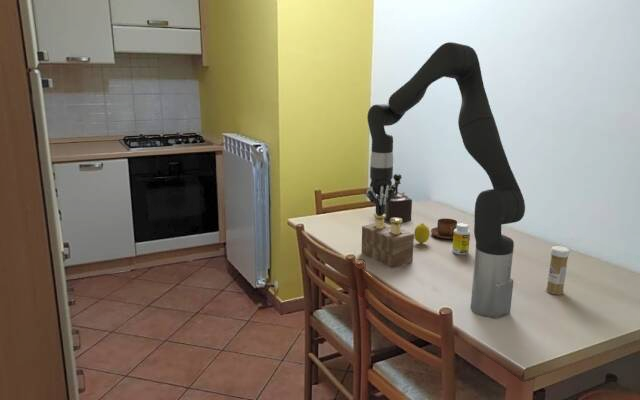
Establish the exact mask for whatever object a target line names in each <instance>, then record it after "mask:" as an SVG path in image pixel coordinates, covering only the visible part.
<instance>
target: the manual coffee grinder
mask: <svg viewBox="0 0 640 400" xmlns="http://www.w3.org/2000/svg"><path fill="white" fill-rule="evenodd" d="M392 179H393V180H394V183H393V184H392V185H393V186H395V187H397V189H396V191H395V193H394V194H393V196H392V198H391V200H390V201H389V202H386V204H385V212H384V214H386V218H384V221H387V222H388V223H391V222H390V218H401V219H402V223H403V222H410V221H412V208H413V206H412V205H413V201H412V199H411V198H409V197H408V196H407V195H406V194H405V192H402V193H400V192H399V190H398V188H399V185H401V179H402V175H401V174H400V173H395V174H393V178H392ZM387 198H388V197H387ZM382 199H383V198H382Z"/></svg>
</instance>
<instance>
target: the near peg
mask: <svg viewBox="0 0 640 400" xmlns="http://www.w3.org/2000/svg"><path fill="white" fill-rule="evenodd" d="M389 223H391V224H390V225H391V234H393V235H399V234H400V229H401V223H403V222H402V219H401V218H390V222H389Z"/></svg>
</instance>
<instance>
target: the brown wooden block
mask: <svg viewBox="0 0 640 400" xmlns="http://www.w3.org/2000/svg"><path fill="white" fill-rule="evenodd" d="M414 240H415V237H414V232H410V231H408V230H405V229H402V228H400V234H399V235H393V234H391V224H388V223H386V222H384V228H382V229H377V228H375V223H371V224H367V225H362V227H361V255H364V256H366V257H368V258H370V259H372V260H375V261H377V262H379V263H381V264H383V265H385V266H387V267H390V268H392V269H394V268H398V267H401V266H404V265H408V264H411V263H413V261H414V242H415V241H414Z"/></svg>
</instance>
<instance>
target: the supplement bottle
mask: <svg viewBox="0 0 640 400" xmlns="http://www.w3.org/2000/svg"><path fill="white" fill-rule="evenodd" d="M470 241H471V231H470V230H469V224H467V223H465V222H464V223H461V222H460V223H457V227H456V229H455V230H454V235H453V239H452V252H453V254H456V255H461V256H462V255H463V256H464V255H468V254H469V250H470Z"/></svg>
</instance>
